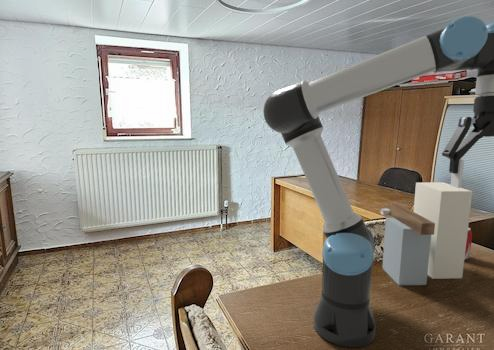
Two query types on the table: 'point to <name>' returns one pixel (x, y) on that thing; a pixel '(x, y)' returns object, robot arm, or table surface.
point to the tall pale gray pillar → (405, 253)
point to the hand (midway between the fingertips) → (483, 186)
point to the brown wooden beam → (410, 219)
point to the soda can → (468, 244)
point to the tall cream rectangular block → (445, 226)
